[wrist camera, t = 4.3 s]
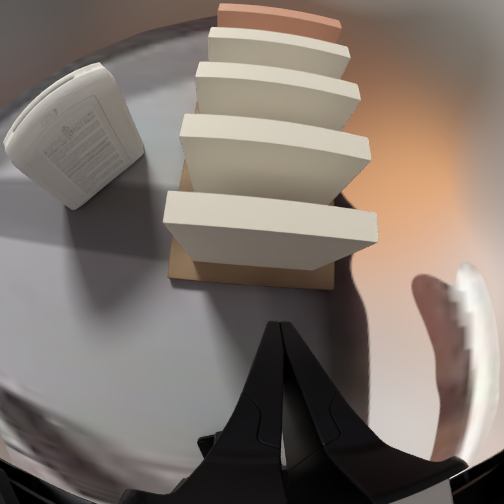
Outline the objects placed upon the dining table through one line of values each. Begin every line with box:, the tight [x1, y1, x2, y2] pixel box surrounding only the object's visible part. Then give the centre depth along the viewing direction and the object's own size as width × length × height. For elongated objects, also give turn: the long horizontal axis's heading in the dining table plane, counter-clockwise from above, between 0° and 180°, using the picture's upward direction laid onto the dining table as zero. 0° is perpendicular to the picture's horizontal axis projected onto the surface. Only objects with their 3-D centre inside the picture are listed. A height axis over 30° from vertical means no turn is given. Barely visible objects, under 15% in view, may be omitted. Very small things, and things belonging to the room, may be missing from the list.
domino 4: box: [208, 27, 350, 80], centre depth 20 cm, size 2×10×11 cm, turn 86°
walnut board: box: [167, 101, 335, 290], centre depth 25 cm, size 24×14×1 cm, turn 176°
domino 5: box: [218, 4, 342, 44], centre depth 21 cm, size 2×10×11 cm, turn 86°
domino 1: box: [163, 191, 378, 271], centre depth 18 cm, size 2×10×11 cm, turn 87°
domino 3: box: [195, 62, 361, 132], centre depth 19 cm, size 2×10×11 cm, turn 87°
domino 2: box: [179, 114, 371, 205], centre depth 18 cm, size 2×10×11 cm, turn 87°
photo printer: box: [3, 63, 144, 210], centre depth 18 cm, size 10×4×12 cm, turn 131°
